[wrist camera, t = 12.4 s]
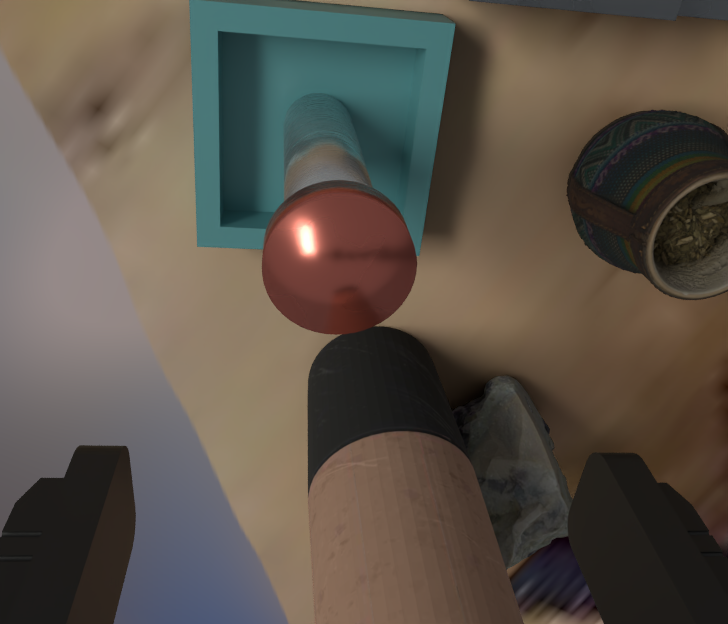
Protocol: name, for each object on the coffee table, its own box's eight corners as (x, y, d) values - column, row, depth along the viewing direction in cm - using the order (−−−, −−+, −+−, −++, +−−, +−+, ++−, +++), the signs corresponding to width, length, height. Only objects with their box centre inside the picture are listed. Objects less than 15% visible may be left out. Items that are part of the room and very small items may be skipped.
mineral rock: (339, 519, 44) (353, 670, 35) (317, 389, 38) (328, 532, 29) (534, 490, 44) (595, 632, 36) (542, 357, 38) (617, 489, 30)
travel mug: (434, 310, 36) (570, 683, 19) (442, 418, 40) (562, 805, 23) (291, 333, 36) (300, 730, 19) (315, 440, 40) (340, 845, 23)
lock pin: (370, 82, 29) (427, 201, 17) (361, 176, 31) (406, 336, 20) (270, 74, 28) (263, 192, 17) (268, 171, 30) (260, 332, 19)
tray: (442, 14, 28) (455, 23, 26) (410, 232, 33) (419, 256, 31) (196, -9, 27) (189, -1, 25) (202, 223, 32) (197, 246, 30)
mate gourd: (545, 246, 34) (630, 357, 26) (557, 95, 31) (662, 168, 22) (681, 232, 35) (810, 337, 26) (711, 81, 31) (873, 146, 22)
